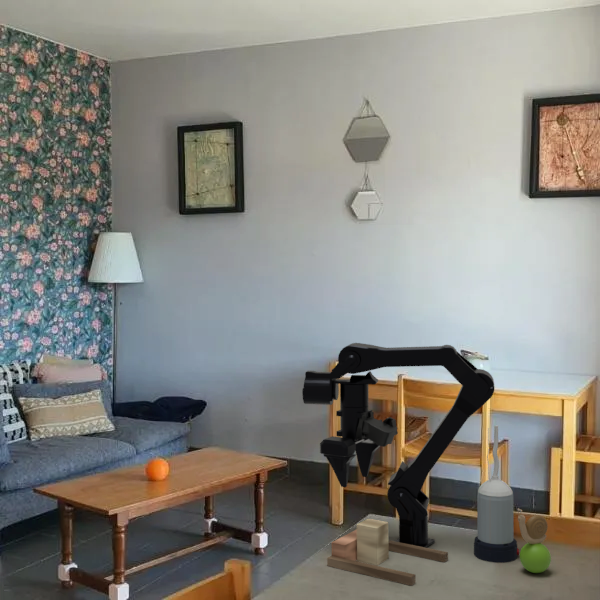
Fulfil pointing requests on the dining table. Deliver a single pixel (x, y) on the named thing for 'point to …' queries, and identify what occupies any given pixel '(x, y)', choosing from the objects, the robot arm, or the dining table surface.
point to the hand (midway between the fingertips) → (354, 481)
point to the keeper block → (372, 541)
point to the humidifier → (495, 517)
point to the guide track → (347, 556)
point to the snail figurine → (534, 543)
